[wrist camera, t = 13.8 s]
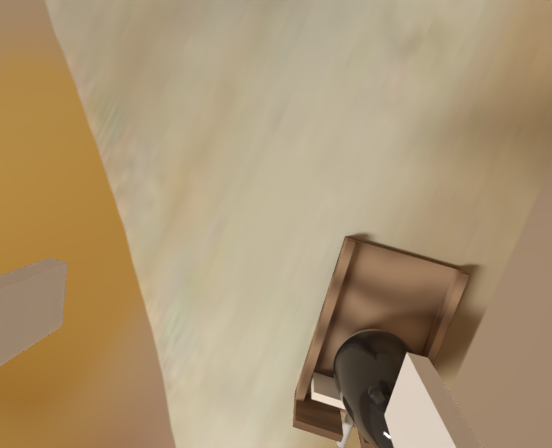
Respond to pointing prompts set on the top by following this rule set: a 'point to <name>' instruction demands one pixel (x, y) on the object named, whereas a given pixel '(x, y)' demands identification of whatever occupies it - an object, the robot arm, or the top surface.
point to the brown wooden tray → (375, 317)
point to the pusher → (330, 400)
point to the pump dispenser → (369, 380)
